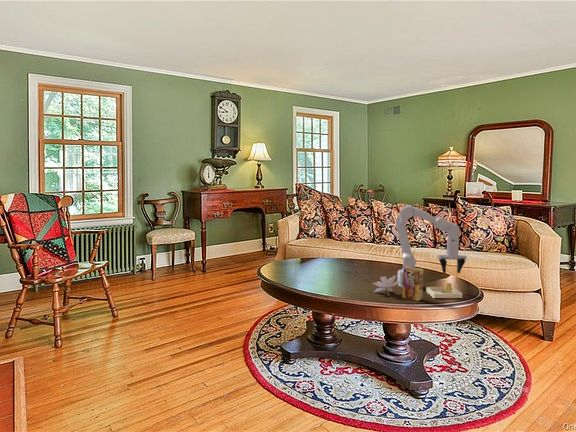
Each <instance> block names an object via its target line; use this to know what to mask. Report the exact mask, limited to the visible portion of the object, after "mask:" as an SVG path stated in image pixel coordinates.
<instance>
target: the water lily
mask: <svg viewBox="0 0 576 432" xmlns="http://www.w3.org/2000/svg"><path fill="white" fill-rule="evenodd" d="M396 277H397V275H393V276H392V277H389V278H387V276H385V275H384V276H380V281H376V282H373V283H372V284H373V285H375V286H377V287H378V288H375V290H374V291H373V293H379V292H382V291H384V290H386V292H387V295H388V297H390V296H391V295H390V293H389V292H392V293H393V287H395V286H397V285H398V284H399V283H400V282H401V281H395V279H396Z"/></svg>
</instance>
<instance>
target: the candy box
mask: <svg viewBox="0 0 576 432" xmlns="http://www.w3.org/2000/svg"><path fill="white" fill-rule="evenodd" d="M402 268H403V267H402ZM423 286H424V269H423V268H419V267H415V268H413V267H404V268H403V287H402V294H401V295H402V296H401V297H402V298H403V299H408V300H413V301H416V302H417V301H418V302H420V301H421V299H423V288H424V287H423Z"/></svg>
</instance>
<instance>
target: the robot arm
mask: <svg viewBox="0 0 576 432" xmlns="http://www.w3.org/2000/svg"><path fill="white" fill-rule="evenodd" d="M412 216H413V218H421V219H423V220H426V221H428V222H430V223H432V224H433V227H435V228H437V229H438V230H440V231H442V232H444V233H447V238H446V242H447V243H446V254H438V255H437V259H438V261H439V264H440V265H441V270H442V273H443V274H446V272H447V263H448V261H447V260H456V263H457V264H456V265H457V266H456V272H457V274H460V273H461V271H462V268H463V266H464V265H465V263H466V260H467V255H465V254H464V255H461V254H459V250H460V249H459V248H460V247H459V246H460V245H459V244H460V233H461V231H460V227H459V225H457V224H456V223H454V222H450V221H448V220H446V219H445V217H443V216H442V217H440V216H439V217H435V216H433V215H431V214H430V213H429V212H426V211H425V210H422V209H420V208H419V207H415V206H413V205H410V204H408V205H405V206H404V207H402V208H401V210H400V211H399V212H398V215H397V218H396V219H395V226H396V231H397V235H398V238H399V239H398V240H399V243H400V249H401V251H402V260H403V261H402V269H398V270H397V275H396V277H397V278H396V279H397V281H401V282H400V283H399V284H397V285H398V286H399V287H400V288H403V268H404V267H413V268H416V264H417V260H416V258H415V256H414V255H413V252H412V247H411V243H410V240H409V236H408V230H407V227H406V223H407V222H408V220H409V219H410V218H411V217H412Z"/></svg>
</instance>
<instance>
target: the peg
mask: <svg viewBox="0 0 576 432" xmlns="http://www.w3.org/2000/svg"><path fill="white" fill-rule="evenodd" d="M443 287H444V293H451V287H452V283H451V282H445V283H444V286H443Z"/></svg>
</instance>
